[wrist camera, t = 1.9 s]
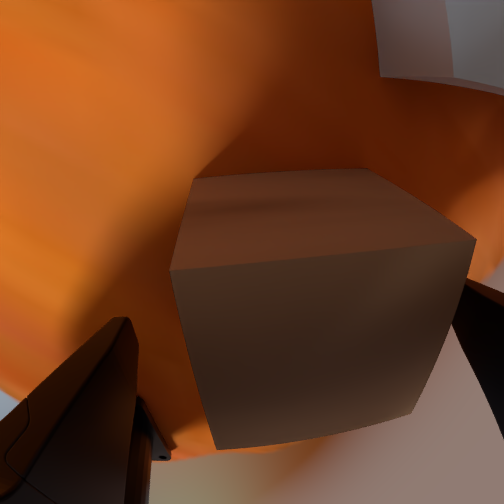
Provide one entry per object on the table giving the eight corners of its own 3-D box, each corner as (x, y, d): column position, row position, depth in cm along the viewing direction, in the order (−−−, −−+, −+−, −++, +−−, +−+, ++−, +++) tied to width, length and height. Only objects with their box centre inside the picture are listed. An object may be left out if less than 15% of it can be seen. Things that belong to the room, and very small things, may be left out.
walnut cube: (352, 304, 12) (410, 413, 8) (213, 321, 12) (216, 450, 7) (365, 167, 10) (476, 238, 5) (194, 178, 10) (169, 270, 5)
